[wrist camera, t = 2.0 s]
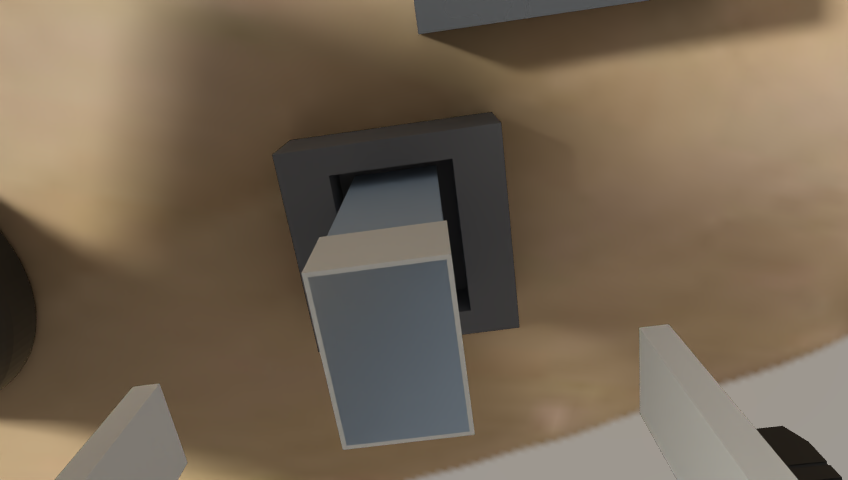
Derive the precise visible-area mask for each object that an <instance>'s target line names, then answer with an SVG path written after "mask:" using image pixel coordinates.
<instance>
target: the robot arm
mask: <svg viewBox="0 0 848 480" xmlns="http://www.w3.org/2000/svg"><path fill="white" fill-rule="evenodd" d="M35 330H36V311H35V303H34V298H33V293H32V290H31V287H30V283H29V281H28V278H27V275H26V273H25V271H24V269H23V266H22V264H21V262H20V261H19V259H18V257H17V255H16V253H15V252H14V250H13V249H12V247H11V246H10V244H9V243H8V241H7V240H6V239H5V237H4V236H3V235H2V234H1V232H0V390H1V389H2V388H3V387H5V386H6V385H7V384H8V383H9V382H10V381H11V380H12V379H13V378H14V377H15V376H16V375H17V374H18V373H19V371H20V370H21V369H22V367H23V365H24V364H25V362H26V360H27V358H28V356H29V354H30V351H31V348H32V345H33V341H34V337H35ZM639 360H640V415H641V417H642V418H643V420H644V422H645V423H646V425H647V427H648V429H649V431H650V433H651V434H652V436H653V438H654V440H655V442H656V443H657V445H658V447H659V449H660V451H661V452H662V454H663V456H664V458H665V459H666V461H667V463H668V465H669V467H670V468H671V470H672V472H673V474H674V475H675V477H676V479H677V480H842V477H841V476H840V475H839V474H838V473H837V472H836V471H835V470H834V469H833V468H832V467H831V465H828V464H827V461H826V460H825V459H824V458H823V457H822V456H821V455H820V454H819V453H818V452H817V450H816V449H815V448H814V447H813V446H812V445H811V444H810V443H809V442H808V441H806V440H805V439H803V438H801V437H800V436H798V435H797V434H795V433H793V432H792V431H790V430H788V429H787V428H785V427H783V426H778V427H769V428H759V429H756V428H755V427H754V426H753V425H752V424H751V423H750V421H749V420H748V419H747V418H746V417H745V415H744V414H743V413H742V412H741V410H740V409H739V408H738V407H737V406H736V404H735V403H734V402H733V401H732V400H731V398H730V397H729V396H728V395H727V394H726V392H725V391H724V390H723V389H722V388H721V386H720V385H719V384H718V383H717V382H716V380H715V379H714V378H713V377H712V376H711V374H710V373H709V372H708V371H707V370H706V368H705V367H704V366H703V365H702V364H701V362H700V361H699V360H698V359H697V358H696V356H695V355H694V354H693V353H692V352H691V350H690V349H689V348H688V347H687V346H686V344H685V343H684V342H683V341H682V340H681V338H680V337H679V336H678V335H677V334H676V332H675V331H674V330H673V329H672V327H671V326H670V325H669V324H665V325H657V326H648V327H640V328H639ZM186 465H187V460H186V457H185V454H184V451H183V448H182V446H181V443H180V440H179V437H178V434H177V431H176V429H175V426H174V423H173V420H172V417H171V415H170V412H169V409H168V406H167V403H166V400H165V398H164V395H163V392H162V389H161V386H160V383H159V384H151V385H142V386H134V387H132V388H131V389H130V391H129V392H128V393H127V394H126V395H125V397H124V398H123V399H122V400H121V401H120V402H119V404H118V405H117V406H116V407H115V408H114V410H113V411H112V412H111V413H110V414H109V416H108V417H107V418H106V419H105V420H104V422H103V423H102V424H101V425H100V426H99V427H98V429H97V430H96V431H95V432H94V433H93V435H92V436H91V437H90V438H89V439H88V441H87V442H86V443H85V444H84V445H83V447H82V448H81V449H80V450H79V451H78V452H77V454H76V455H75V456H74V457H73V458H72V460H71V461H70V462H69V463H68V464H67V466H66V467H65V468H64V469H63V470H62V471H61V473H60V474H59V475H58V476H57V477H56V479H55V480H178V479H179V477H180V475H181V473H182V472H183V470H184V468H185V466H186Z"/></svg>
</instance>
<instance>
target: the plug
mask: <svg viewBox="0 0 848 480" xmlns="http://www.w3.org/2000/svg"><path fill="white" fill-rule="evenodd" d="M301 274H302V278H303V282H304V286H305V291H306V295H307V299H308V304H309V308H310V312H311V316H312V321H313V325H314V329H315V333H316V338H317V342H318V346H319V350H320V355H321V359H322V363H323V367H324V372H325V376H326V380H327V385H328V389H329V393H330V397H331V402H332V406H333V410H334V414H335V419H336V423H337V427H338V431H339V436H340V440H341V444H342V448H343V450H347V449H355V448H364V447H373V446H381V445H390V444H399V443H407V442H416V441H425V440H433V439H442V438H451V437H459V436H468V435H475V432H474V424H473V416H472V409H471V401H470V393H469V386H468V378H467V370H466V363H465V355H464V347H463V340H462V332H461V325H460V317H459V309H458V302H457V294H456V286H455V279H454V271H453V263H452V256H451V248H450V241H449V233H448V226H447V220H445V221H444V220H443V212H442V205H441V197H440V190H439V182H438V175H437V167H436V165H433V166H425V167H418V168H411V169H403V170H396V171H389V172H382V173H374V174H367V175H360V176H355V177H354V179H353V181H352V183H351V185H350V187H349V190H348V192H347V194H346V196H345V198H344V200H343V203H342V205H341V207H340V209H339V211H338V213H337V215H336V218H335V220H334V222H333V224H332V226H331V228H330V230H329V233H328V235H327V236H324V237H319V239H318V241H317V243H316V245H315V247H314V249H313V251H312V253H311V255H310V257H309V259H308V261H307V263H306V265H305V267H304V269H303V271H302V273H301Z"/></svg>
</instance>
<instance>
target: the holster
mask: <svg viewBox="0 0 848 480" xmlns="http://www.w3.org/2000/svg"><path fill="white" fill-rule="evenodd" d="M272 156H273V161H274V165H275V169H276V173H277V178H278V182H279V186H280V190H281V195H282V199H283V203H284V207H285V212H286V216H287V220H288V224H289V229H290V233H291V237H292V241H293V246H294V250H295V254H296V258H297V263H298V267H299V271H300V275H301V280H302V284H303V288H304V292H305V297H306V301H307V305H308V309H309V314H310V318H311V322H312V326H313V331H314V335H315V339H316V343H317V348H318V352H320V350H319V346H318V342H317V338H316V333H315V329H314V325H313V321H312V316H311V312H310V308H309V304H308V299H307V295H306V291H305V286H304V282H303V278H302V274H301V273H302V271H303V269H304V267H305V265H306V263H307V261H308V259H309V257H310V255H311V253H312V251H313V249H314V247H315V245H316V243H317V241H318V239H319V237H324V236H327V235H328V233H329V230H330V228H331V226H332V224H333V222H334V220H335V218H336V215H337V213H338V211H339V209H340V207H341V205H342V203H343V200H344V198H345V196H346V194H347V192H348V190H349V187H350V185H351V183H352V181H353V179H354V177H355V176H360V175H367V174H374V173H382V172H389V171H396V170H403V169H411V168H418V167H425V166H433V165H436V167H437V175H438V182H439V190H440V197H441V205H442V212H443V220H444V221H445V220H447V226H448V233H449V241H450V248H451V256H452V263H453V271H454V279H455V286H456V294H457V302H458V309H459V317H460V325H461V332H462V335H463V334H471V333H479V332H487V331H495V330H503V329H511V328H519V316H518V305H517V294H516V283H515V272H514V260H513V249H512V238H511V227H510V216H509V204H508V193H507V182H506V171H505V160H504V149H503V137H502V126H501V122H500V121H499V120H498V119H497V118H496V116H495V115H494V114H493V113H492V112H487V113H480V114H473V115H466V116H459V117H452V118H445V119H438V120H431V121H423V122H416V123H409V124H402V125H395V126H388V127H381V128H374V129H367V130H360V131H352V132H345V133H338V134H331V135H324V136H317V137H310V138H303V139H296V140H290V141H288V142H287V143H286V144H285V145H284V146H282V147H281V148H280V149H279V150H277V151H276V152H275V153H274V154H273V155H272Z"/></svg>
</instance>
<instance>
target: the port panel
mask: <svg viewBox="0 0 848 480" xmlns="http://www.w3.org/2000/svg"><path fill="white" fill-rule="evenodd" d="M641 1H647V0H414V5H415V12H416V20H417V27H418V34H424V33H431V32H437V31H444V30H451V29H458V28H464V27H471V26H478V25H485V24H492V23H498V22H505V21H512V20H519V19H525V18H532V17H539V16H546V15H553V14H559V13H566V12H573V11H580V10H586V9H593V8H600V7H607V6H613V5H620V4H627V3H634V2H641Z"/></svg>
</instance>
